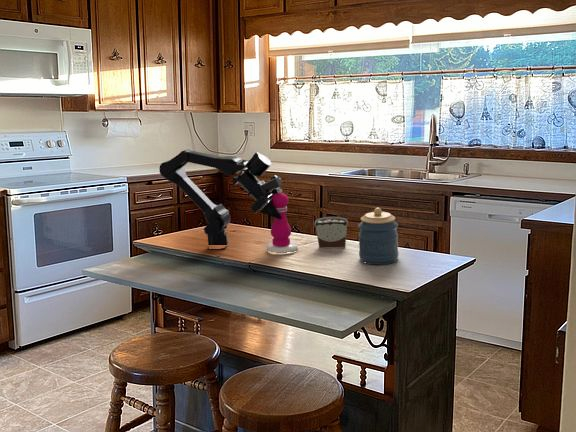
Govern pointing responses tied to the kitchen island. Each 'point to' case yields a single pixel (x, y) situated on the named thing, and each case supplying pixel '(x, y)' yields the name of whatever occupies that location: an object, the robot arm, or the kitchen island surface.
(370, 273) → the kitchen island surface
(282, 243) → the pepper mill
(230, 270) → the kitchen island surface
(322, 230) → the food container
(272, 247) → the stand
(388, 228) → the canister
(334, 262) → the kitchen island surface
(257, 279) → the kitchen island surface
